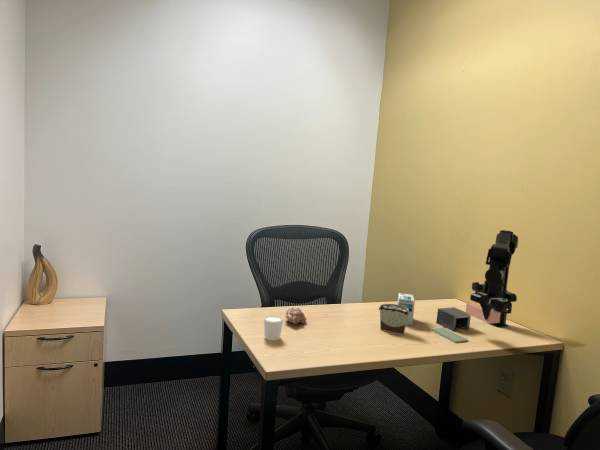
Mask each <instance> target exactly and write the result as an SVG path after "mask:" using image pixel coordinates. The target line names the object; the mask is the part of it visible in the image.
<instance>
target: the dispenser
mask: <svg viewBox="0 0 600 450" xmlns="http://www.w3.org/2000/svg"><path fill="white" fill-rule="evenodd" d="M436 313H437V314H436V321H435V322H436V324H438V325H439V326H441V327H442V328H445V329H447V330H449V331H451V332H455V331H456V326H459V327H461V328H462V329H465V330H468V331H469V330H470V327H471V326H470V325H471V324H470V323H471V317H472V316H471V315H469V314H467V313H466V311H464V310H461V309H459V308H456V307H443V308H441V307H440V308H437V312H436Z"/></svg>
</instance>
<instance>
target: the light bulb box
mask: <svg viewBox="0 0 600 450" xmlns="http://www.w3.org/2000/svg"><path fill="white" fill-rule="evenodd" d="M415 303H416V302H415V296H414V294H408V293H401V292H398V297H397V305H401V306H404V307H406V308H408V309H409V314H410V316H409V314H408V317H407V322H406V326H407V325H408V326H413V323H414V322H413V320H414V311H415Z"/></svg>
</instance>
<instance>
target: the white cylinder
mask: <svg viewBox="0 0 600 450" xmlns="http://www.w3.org/2000/svg"><path fill="white" fill-rule="evenodd" d="M283 322H284V319H283V318H282V317H279V316H274V315H273V316H272V315H271V316H266V317H264V318H263V323H264V324H263V325H264V326H263V327H264V331H263V332H264V333H263V334H264V338H265V340H268V341H278V340H280V338H281V334H282V329H283Z"/></svg>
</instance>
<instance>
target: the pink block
mask: <svg viewBox="0 0 600 450" xmlns="http://www.w3.org/2000/svg"><path fill="white" fill-rule="evenodd" d="M465 312H466V313H467V314H469V315H471V317H473V318H475V319H478V320H480V321H483V322H484V323H488V324H490V323H499V322H500V314H501V313H500V312H498V311H495V310H493V309H491V311H490V314H489V317H488V319H487V320H486V319H484V315H483V311H482V308H481V305H480V304H479V303H477V302H469V303H468V302H467V303H466V306H465ZM490 325H491V324H490Z"/></svg>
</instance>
